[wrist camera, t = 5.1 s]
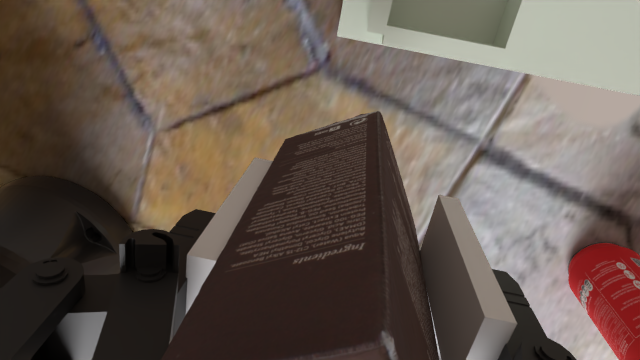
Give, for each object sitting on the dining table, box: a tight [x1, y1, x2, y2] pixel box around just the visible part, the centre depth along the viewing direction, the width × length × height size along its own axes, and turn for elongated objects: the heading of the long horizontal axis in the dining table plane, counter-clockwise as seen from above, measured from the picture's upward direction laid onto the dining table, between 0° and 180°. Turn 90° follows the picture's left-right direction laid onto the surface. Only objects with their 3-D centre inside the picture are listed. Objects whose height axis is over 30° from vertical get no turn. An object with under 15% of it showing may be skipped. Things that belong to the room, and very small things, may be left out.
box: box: [161, 111, 439, 360], centre depth 12 cm, size 6×4×12 cm
